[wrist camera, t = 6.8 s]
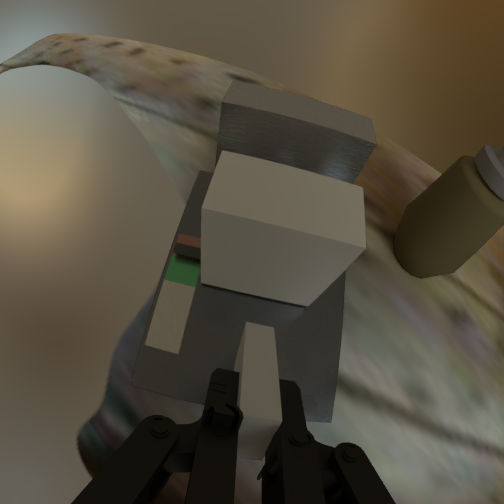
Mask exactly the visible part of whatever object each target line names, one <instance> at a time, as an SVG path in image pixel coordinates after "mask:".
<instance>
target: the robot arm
mask: <svg viewBox="0 0 504 504" xmlns="http://www.w3.org/2000/svg"><path fill="white" fill-rule="evenodd" d="M301 398H302V396H301V390H300V388H299V387H298V385H297V384H296V382H295V381H290V380H283V379H279V375H278V364H277V353H276V342H275V331H274V327H269V326H264V325H260V324H255V323H250V322H246V324H245V327H244V331H243V335H242V338H241V342H240V346H239V349H238V353H237V356H236V360H235V366H234V371H231V370H226V369H222V368H217V369H216V370H215V371H214V372H213V373H212V374H211V378H210V382H209V387H208V391H207V395H206V400H205V405H204V410H203V414H202V417H201V418H200V419H199V420H198V421H196V422H194V423H191V424H176V423H175V422H174V421H172V420H171V419H169V418H168V417H164V416H161V415H153V416H149V417H147V418H145V419H144V420H143V421H142V422H141V423H140V424H139V425H138V427H137V428H136V429H135V430H134V431H133V433H132V434H131V435H130V436H129V437H128V438H127V440H126V441H125V442H124V443H123V444H122V446H121V447H120V448H119V449H118V450H117V451H116V453H115V454H114V455H113V456H112V457H111V458H110V460H109V461H108V462H107V463H106V464H105V465H104V467H103V468H102V469H101V470H100V471H99V472H98V473H97V475H96V476H95V477H94V478H93V479H92V480H91V482H90V483H89V484H88V485H87V486H86V488H84V489H83V491H82V492H81V493H80V494H79V495H78V496H77V497H76V499H75V500H74V501H73V502H72V503H71V504H153V503H154V501H155V500H156V498H157V497H158V495H159V494H160V492H161V491H162V489H163V487H164V486H165V484H166V483H167V481H168V480H169V478H170V476H171V475H172V473H173V472H191V473H190V478H189V483H188V489H187V494H186V499H185V504H234V490H235V475H236V460H237V457H239V458H246V459H253V460H262V459H263V457H264V455H265V464H264V466H263V468H262V470H261V471H260V473H259V475H258V477H257V480H260V478H261V477H262V504H396V503H395V502H394V500H393V498H392V497H391V495H390V493H389V492H388V490H387V489H386V487H385V485H384V484H383V482H382V480H381V479H380V477H379V475H378V474H377V472H376V471H375V469H374V467H373V466H372V464H371V462H370V461H369V459H368V457H367V456H366V454H365V452H364V451H363V450H362V449H361V448H360V447H359V446H357V445H356V444H353V443H349V442H348V443H341V444H338V445H337V447H336V448H334V447H330V446H327V445H324V444H321V443H319V442H317V441H316V440H315V439H314V437H313V435H312V434H311V433H310V432H309V431H308V430H307V426H306V420H305V414H304V408H303V402H302V399H301Z"/></svg>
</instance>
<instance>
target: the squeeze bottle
mask: <svg viewBox="0 0 504 504" xmlns="http://www.w3.org/2000/svg"><path fill="white" fill-rule="evenodd" d="M503 224H504V147H502V148H501V149H500V150H498V149H497V148H496V147H494V146H492V145H490V144H487V145H485V146H484V147H483V148H482V149H481V150H480V152H479V153H478V154H477V155H476V157H475V158H474V157H471V156H462V157H460V158H459V159H458V160H457V161H456V162H455V163H454V164H453V165H452V166H451V167H450V168H449V169H448V170H446V171H445V173H443V174H442V175H441V176H440V177H439V178H438V179H437V180H436V181H435V182H434V183H432V184H431V185H430V186H429V187H428V188H427V189H426V190H425V191H424V192H423V193H421V194H420V195H419V196H418V197H417V198H416V199H415V200H414V201H412V202H411V203H410V204H409V205H408V206H407V207H406V209H405V212H404V214H403V216H402V219H401V222H400V225H399V228H398V230H397V233H396V236H395V238H394V250H395V253H396V256H397V259H398V260H399V262H400V263H401V265H402V266H403V268H404V269H405V270H406V271H408V272H409V273H410V274H411V275H413V276H415V277H418V278H427V277H433V276H438V275H444V274H449V273H454V272H455V271H456V270H457V269H458V268H460V267H461V266H462V265H463V264H464V263H465V262H466V261H467V260H468V259H469V258H470V257H471V256H472V255H473V254H474V253H476V252H477V251H478V250H479V249H480V248H481V247H482V246H483V245H484V244H485V243H486V242H487V241H488V240H489V239H490V238H491V237H492V236H493V235H494V234H495V233H496V231H497V230H498V229H499V228H500V227H501V226H502V225H503Z"/></svg>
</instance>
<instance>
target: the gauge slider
mask: <svg viewBox="0 0 504 504" xmlns="http://www.w3.org/2000/svg"><path fill="white" fill-rule="evenodd" d="M365 249H366V231H365V211H364V196H363V187H360V186H357V185H353V184H350V183H347V182H344V181H341V180H337V179H334V178H331V177H327V176H324V175H320V174H317V173H313V172H310V171H306V170H302V169H299V168H295V167H291V166H287V165H283V164H280V163H276V162H272V161H267V160H263V159H259V158H255V157H251V156H246V155H242V154H237V153H233V152H228V151H223V150H222V152H221V155H220V158H219V160H218V163H217V166H216V169H215V171H214V174H213V177H212V180H211V182H210V185H209V188H208V191H207V194H206V196H205V199H204V202H203V205H202V210H201V248H198V247H194V246H189V245H185V244H181V243H177V242H176V244H175V246H174V253H176V254H180V255H184V256H188V257H192V258H197V259H201V283H204V284H208V285H212V286H217V287H221V288H225V289H229V290H234V291H238V292H243V293H247V294H252V295H256V296H261V297H265V298H270V299H275V300H279V301H284V302H289V303H294V304H299V305H303V306H309V305H310V304H311V303H312V302H313V301H314V300H315V299H316V298H318V297H319V296H320V295H321V294H322V293H323V292H324V291H325V290H326V289H327V288H328V287H329V286H330V285H331V284H332V283H333V282H334V281H335V280H336V279H337V278H338V277H339V276H340V275H341V274H342V273H343V272H344V271H345V270H346V269H347V268H348V267H349V266H350V265H351V263H352V262H353V261H354V260H355V259H356V258H357V257H358V256H359V255H360V254H361V253H362V252H363V251H364V250H365Z"/></svg>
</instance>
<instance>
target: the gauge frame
mask: <svg viewBox="0 0 504 504" xmlns="http://www.w3.org/2000/svg"><path fill="white" fill-rule="evenodd" d="M376 145H377V143H376V138H375V133H374V128H373V124H372V120H371V119H370V118H367V117H365V116H362V115H359V114H356V113H354V112H351V111H348V110H345V109H341V108H338V107H336V106H333V105H329V104H326V103H323V102H320V101H317V100H313V99H310V98H306V97H303V96H299V95H295V94H292V93H288V92H284V91H280V90H276V89H271V88H267V87H263V86H258V85H253V84H248V83H243V82H238V81H232V83H231V85H230V87H229V89H228V91H227V93H226V95H225V97H224V99H223V101H222V106H221V115H220V124H219V134H218V144H217V155H216V166H217V163H218V160H219V158H220V155H221V152H222V150H223V151H228V152H233V153H237V154H242V155H246V156H251V157H255V158H259V159H263V160H267V161H272V162H276V163H280V164H283V165H287V166H291V167H295V168H299V169H302V170H306V171H310V172H313V173H317V174H320V175H324V176H327V177H331V178H334V179H337V180H341V181H344V182H347V183H350V184H353V183H354V181H355V179H356V178H357V176H358V175H359V173H360V171H361V170H362V168H363V166H364V165H365V163H366V162H367V160H368V158H369V157H370V155H371V153H372V152H373V150H374V148H375V147H376ZM216 166H215V169H216ZM213 174H214V173H209V172H204V171H200V172H199V174H198V177H197V179H196V182H195V184H194V187H193V189H192V192H191V194H190V197H189V199H188V202H187V205H186V207H185V210H184V213H183V216H182V218H181V221H180V224H179V226H178V229H177V232H176V235H175V237H174V240H173V243H172V246H171V249H170V252H169V255H168V258H167V261H166V263H165V266H164V269H163V273H162V276H161V279H160V282H159V285H158V288H157V291H156V294H155V298H154V301H153V304H152V307H151V311H150V314H149V318H148V321H147V324H146V328H145V331H144V335H143V339H142V342H141V346H140V349H139V353H138V357H137V361H136V365H135V369H134V373H133V377H132V381H131V385H133V386H136V387H139V388H142V389H146V390H149V391H152V392H156V393H159V394H163V395H166V396H170V397H174V398H178V399H182V400H185V401H190V402H194V403H198V404H202V405H205V400H206V395H207V391H208V387H209V382H210V378H211V374H212V373H213V372H214V371H215V370H216V369H217V368H222V369H226V370H231V371H234V366H235V360H236V356H237V353H238V349H239V346H240V342H241V338H242V335H243V331H244V327H245V324H246V322H250V323H255V324H260V325H264V326H269V327H274V331H275V342H276V353H277V364H278V375H279V379H283V380H290V381H295V382H296V384H297V385H298V387H299V388H300V390H301V396H302V398H301V399H302V402H303V408H304V414H305V420H306V421H314V422H329V423H331V420H332V414H333V407H334V400H335V392H336V384H337V376H338V367H339V357H340V347H341V335H342V323H343V308H344V289H345V271H344V272H343V273H342V274H341V275H340V276H339V277H338V278H337V279H336V280H335V281H334V282H333V283H332V284H331V285H330V286H329V287H328V288H327V289H326V290H325V291H324V292H323V293H322V294H321V295H320V296H319V297H318V298H316V299H315V300H314V301H313V302H312V303H311V304H310V305H309V306H303V305H299V304H294V303H289V302H284V301H279V300H275V299H270V298H265V297H261V296H256V295H252V294H247V293H243V292H238V291H234V290H229V289H225V288H221V287H217V286H212V285H208V284H204V283H201V259H197V258H192V257H188V256H184V255H180V254H176V253H174V246H175V244H176V242H177V243H181V244H185V245H189V246H194V247H198V248H201V210H202V205H203V202H204V199H205V196H206V194H207V191H208V188H209V185H210V182H211V180H212V177H213Z"/></svg>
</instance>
